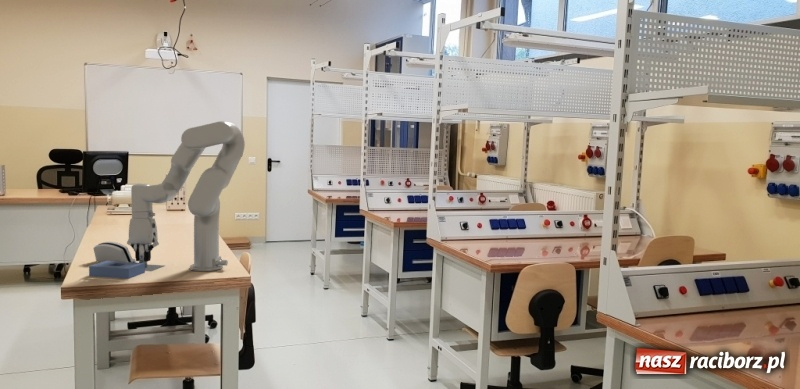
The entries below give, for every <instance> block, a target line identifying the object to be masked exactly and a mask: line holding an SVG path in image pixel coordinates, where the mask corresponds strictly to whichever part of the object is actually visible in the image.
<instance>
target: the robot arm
mask: <svg viewBox="0 0 800 389" xmlns="http://www.w3.org/2000/svg"><path fill="white" fill-rule="evenodd" d="M180 137H181V138H180V140H181V143H180V145H179V146H178V147H177V149H176V150H175V152H174V153H173V155H172V157H171V158H170V164H171V165H170V169H169V171H168V172H167V174H166V176H165V177H164V179H163V181H162V182H161V183H158V184H148V183H134V184H132V185H131V187H130V188H131V192H130V194H131V199H130V200H131V218H130V220H129V226H128V239H127V241H126V244H127V245H128V246H130V247H131V249H133V251H134V254H135V257H134V259H135V261H136V262H139V244H145V251H146V252H144V261H145V262H147V263H148V262H149V261H151V259H152V254H151V252H152V251H153V249H154V248H155V247H157V246H159V244H160V243H159V241H158V239H159V238H158V236H159V235H158V229H157V222H156V218H154V217H155V216H156V213H155V212H154V211H153V204H165V203H168V202H169V201H172V200H173V199H174V198H175V197H176V196H177V195H178V193H179V192H180V191H181V189H182V188H183V185H184V184H185V183H186V181H187V178H188V177H189V176H190V173H191V171H192V169H193V167H195V164H197V161H198V160H199V158H200V157H201V155H202V154H203V152H204V151H205V149H206V148H209V147H214V146H218V145H222V147H221V149H220V151H219V153H218V154H217V156H216V158H215V160H214V162H213V164H212V166H211V167H209V168H207V169H205V170H204V171H203V172H202V174H200V177H199V178H198V181H197V183H196V184H195V186H194V188H193V190H192V192H191V194H190V196H189V199H188V202H187V207H188V211H189V212H190V213H191V214H192V215H193V216H194V218H193V263H192V264H190V266H189V269H190V270H191V271H194V272H214V271H219V270H221V269H223V267H224V266H225V267H226V266H228V264H229V263H228V262H229V261H228V260H227V259H223V258H222V256H221V255H220V253H219V252H220V249H219V248H220V234H219V233H220V227H219V226H220V213H221V212H220V211H221V201H220V195H221V193H222V192H223V190H224V189H226V188H227V187H228V186H229V184H230V182H231V181H232V180H231V179H232V177H233V176H234V174H235V172H236V170H237V168H238V165H239V163H240V161H241V159H242V156H243V155H244V151H245V145H246V142H245V137H244V135H243V133H242V130H241V129H240V128H239V127H238V126H237V125H236V124H235V123H233V122H230V121H223V120H220V121H215V122H211V123H207V124H203V125H198V126H194V127H188V128H187V129H185V130H184V131H183V133H182V134H181V136H180Z"/></svg>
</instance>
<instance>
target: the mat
mask: <svg viewBox="0 0 800 389" xmlns="http://www.w3.org/2000/svg"><path fill="white" fill-rule="evenodd" d="M164 267H165V265H161V264H148V263H147V267H146V268H145V272H146V271H147V272H154V271H156V270H159V269H161V268H164Z"/></svg>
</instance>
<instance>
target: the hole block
mask: <svg viewBox="0 0 800 389" xmlns="http://www.w3.org/2000/svg"><path fill="white" fill-rule="evenodd" d="M145 273H146V271H145V263H139V262H119V261H104V262H97V263H95V264H92V265H89V266H88V275H89V276H88V277H96V278H97V277H99V278H112V279H115V278H116V279H126V280H127V279H128V280H129V279H131V278H135V277H137V276H139V275H142V274H145Z"/></svg>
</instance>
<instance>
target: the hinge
mask: <svg viewBox="0 0 800 389" xmlns="http://www.w3.org/2000/svg"><path fill="white" fill-rule="evenodd" d="M93 253H94V257H95V261H96V262H97V261H98V262H97V263H101V262H104V261H119V262H135V263H137V261H136V258H133V256H132V255H131V252H130V250H129V248H128V247H127V245H125V244H122V243H120V242H119V243H118V242H116V241H104V242H101V243H98V244H97V245H95V246H94V247H93Z"/></svg>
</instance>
